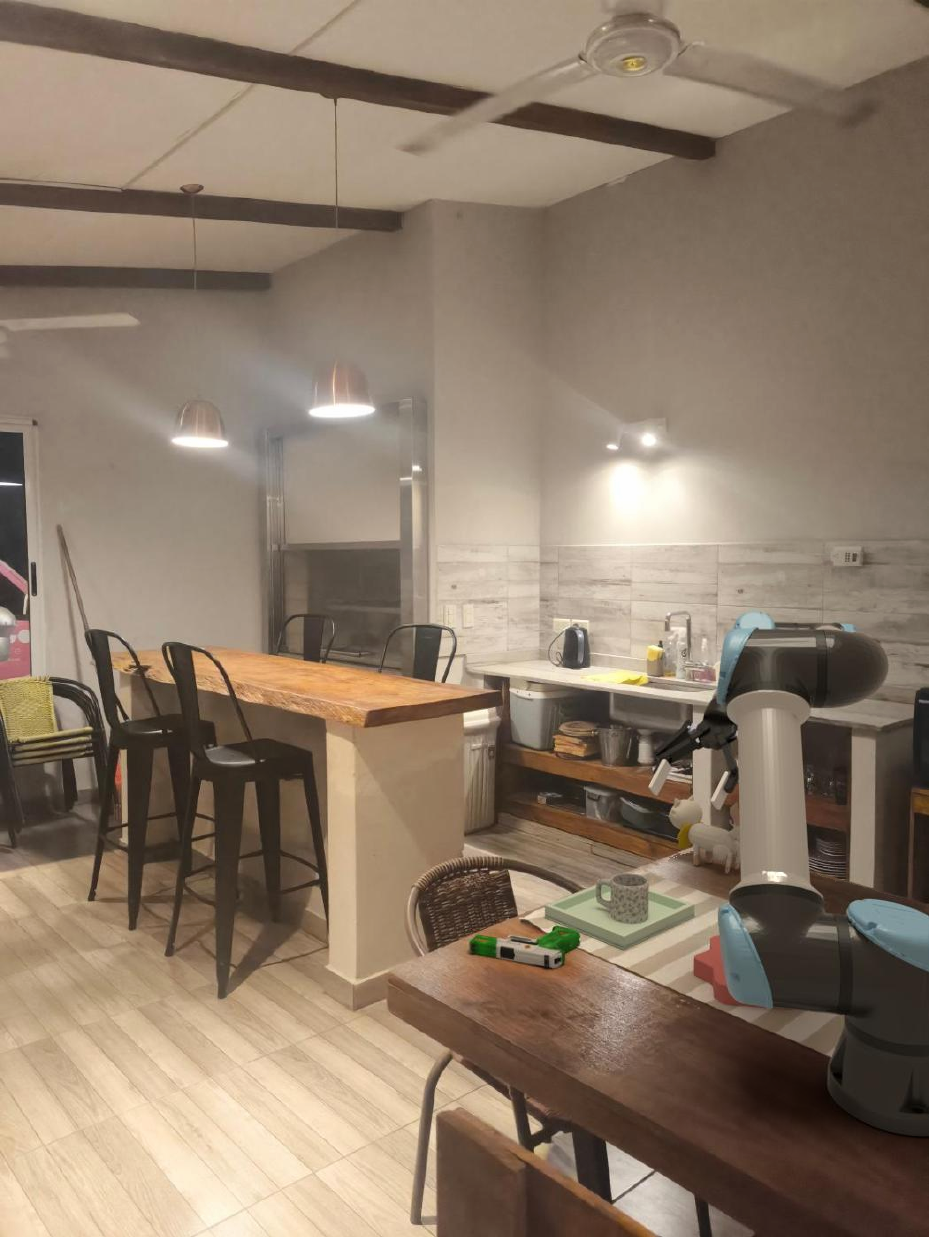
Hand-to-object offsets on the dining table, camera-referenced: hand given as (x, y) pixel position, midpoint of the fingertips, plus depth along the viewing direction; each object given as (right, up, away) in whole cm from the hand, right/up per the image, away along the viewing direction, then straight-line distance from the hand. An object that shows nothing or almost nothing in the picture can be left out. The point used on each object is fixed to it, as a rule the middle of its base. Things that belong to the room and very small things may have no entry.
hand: (682, 798), depth 173 cm
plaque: (+3, -23, -27) cm, 36 cm away
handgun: (-30, -23, -16) cm, 41 cm away
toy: (+11, -18, +21) cm, 30 cm away
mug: (-12, -20, -4) cm, 24 cm away
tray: (-12, -21, -4) cm, 24 cm away
